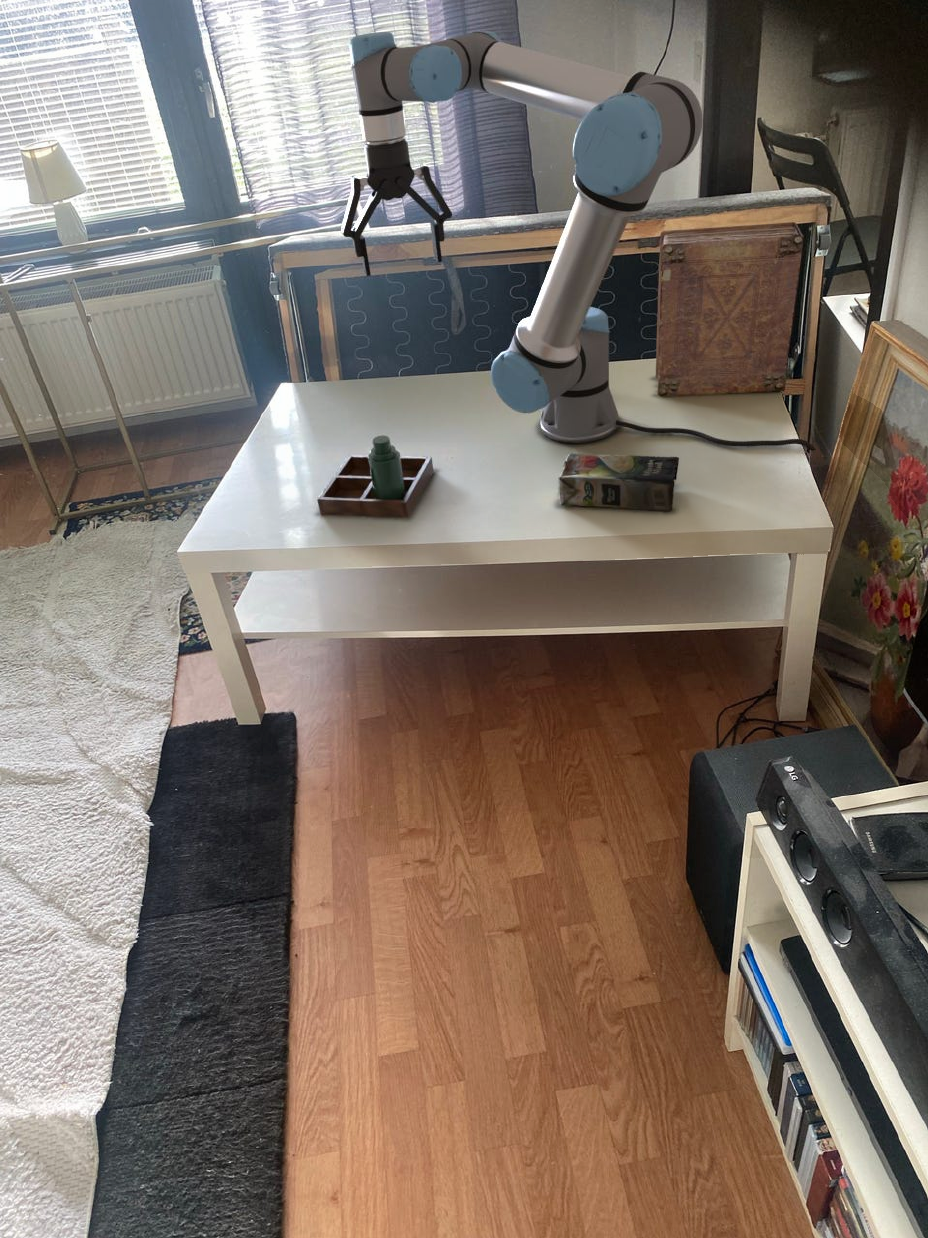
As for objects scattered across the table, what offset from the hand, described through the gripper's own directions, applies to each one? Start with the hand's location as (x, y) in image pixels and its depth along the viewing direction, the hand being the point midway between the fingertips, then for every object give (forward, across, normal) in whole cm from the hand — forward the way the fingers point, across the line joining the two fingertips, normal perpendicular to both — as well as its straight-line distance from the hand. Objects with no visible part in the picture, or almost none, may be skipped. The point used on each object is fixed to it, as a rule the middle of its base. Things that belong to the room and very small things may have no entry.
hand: (403, 267), depth 168 cm
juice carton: (+32, -24, +44) cm, 59 cm away
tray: (+32, +15, +24) cm, 42 cm away
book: (+32, -60, +12) cm, 69 cm away
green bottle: (+31, +13, +29) cm, 45 cm away
